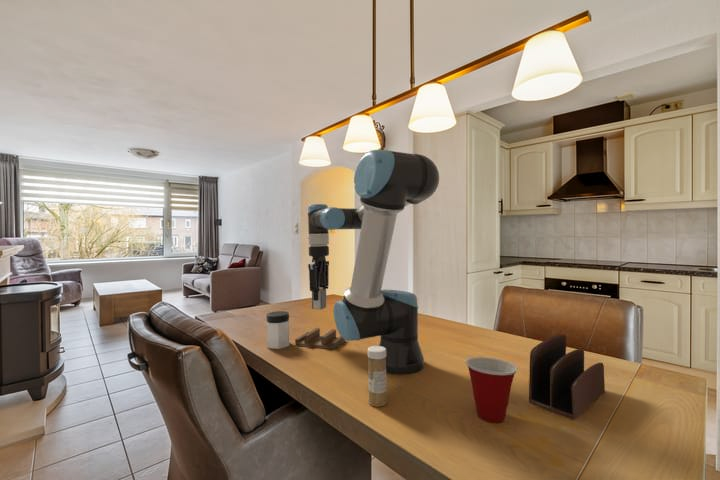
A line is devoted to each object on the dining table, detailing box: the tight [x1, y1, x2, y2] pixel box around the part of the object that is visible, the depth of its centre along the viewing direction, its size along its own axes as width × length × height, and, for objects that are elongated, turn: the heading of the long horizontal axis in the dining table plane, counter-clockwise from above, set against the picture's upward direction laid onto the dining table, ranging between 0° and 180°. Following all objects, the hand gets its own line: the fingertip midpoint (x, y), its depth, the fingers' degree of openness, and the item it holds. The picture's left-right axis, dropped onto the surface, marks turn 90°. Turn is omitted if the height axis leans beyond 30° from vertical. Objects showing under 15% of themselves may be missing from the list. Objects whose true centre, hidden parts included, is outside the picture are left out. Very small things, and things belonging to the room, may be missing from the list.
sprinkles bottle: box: [367, 345, 387, 407], centre depth 82 cm, size 5×5×13 cm
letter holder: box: [528, 333, 606, 421], centre depth 83 cm, size 10×20×14 cm, turn 128°
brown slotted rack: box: [294, 327, 346, 350], centre depth 128 cm, size 16×10×4 cm, turn 71°
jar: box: [266, 310, 290, 350], centre depth 126 cm, size 9×8×12 cm
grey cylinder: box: [311, 288, 327, 310], centre depth 128 cm, size 4×4×8 cm
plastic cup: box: [465, 356, 518, 424], centre depth 76 cm, size 11×11×12 cm
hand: (319, 307), depth 128 cm, fingers closed on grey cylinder, 4 cm apart
